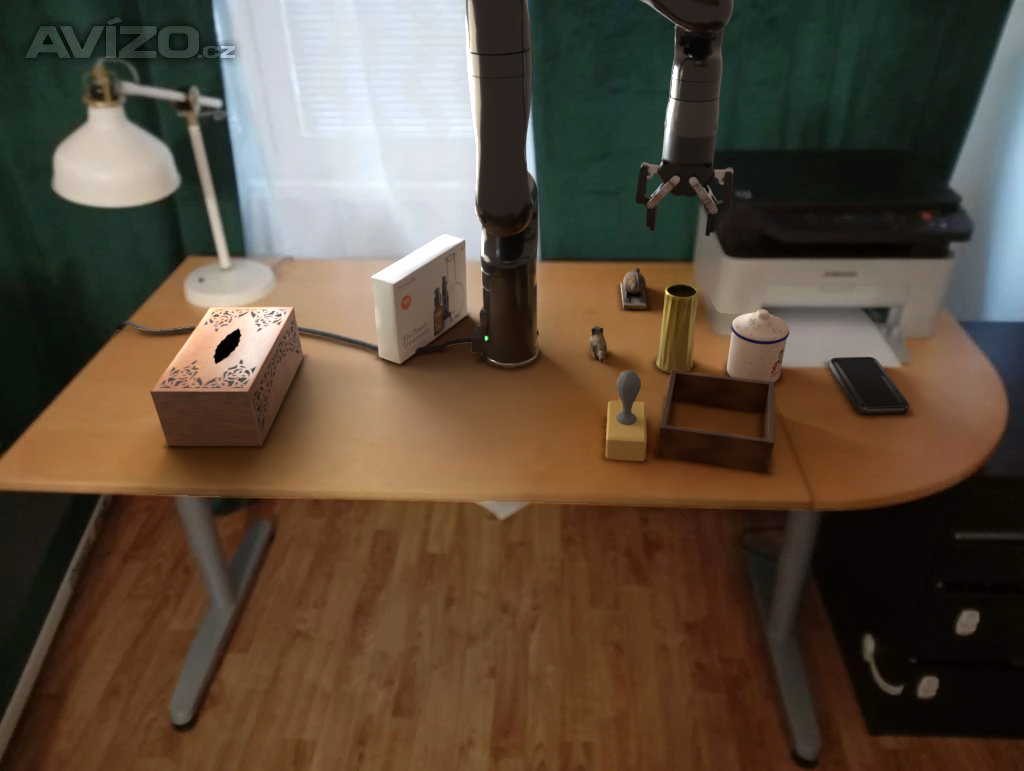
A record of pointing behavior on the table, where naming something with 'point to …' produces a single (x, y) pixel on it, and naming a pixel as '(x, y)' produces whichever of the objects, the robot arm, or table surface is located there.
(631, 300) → the figurine
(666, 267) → the table surface
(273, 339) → the tissue box cover
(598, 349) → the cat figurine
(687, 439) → the crate
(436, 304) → the skincare box
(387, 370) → the table surface
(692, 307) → the vase
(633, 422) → the rubber stamp
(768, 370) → the teacup with lid
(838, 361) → the phone
